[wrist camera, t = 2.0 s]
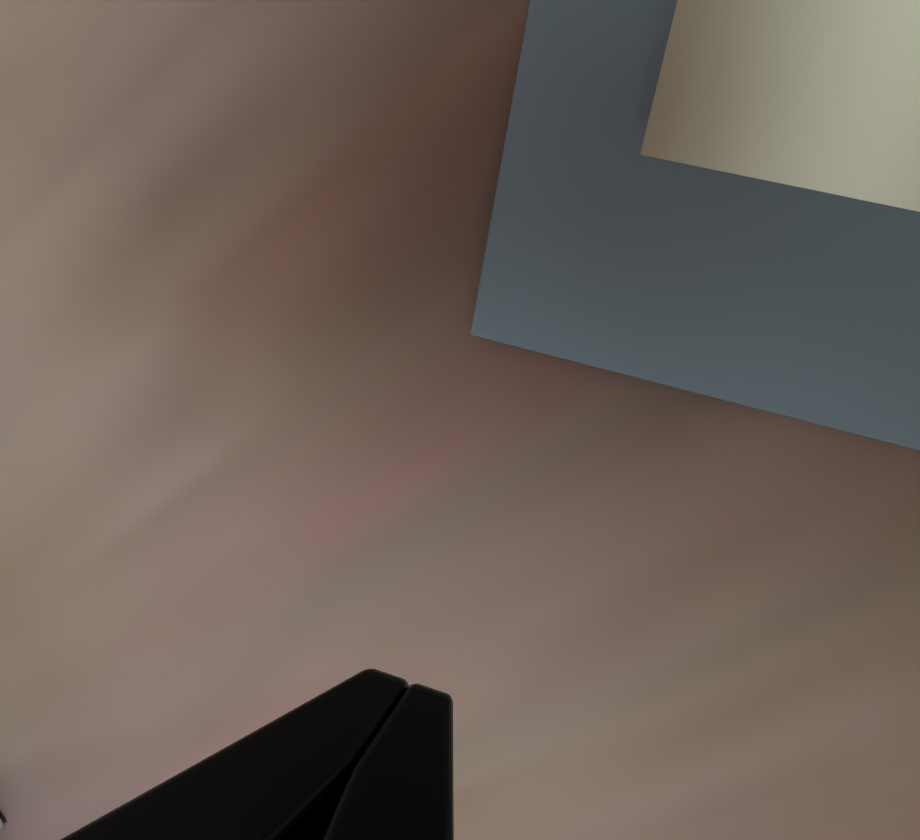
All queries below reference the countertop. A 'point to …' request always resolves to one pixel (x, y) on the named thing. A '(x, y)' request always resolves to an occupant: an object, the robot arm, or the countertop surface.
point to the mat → (687, 247)
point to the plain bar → (795, 94)
